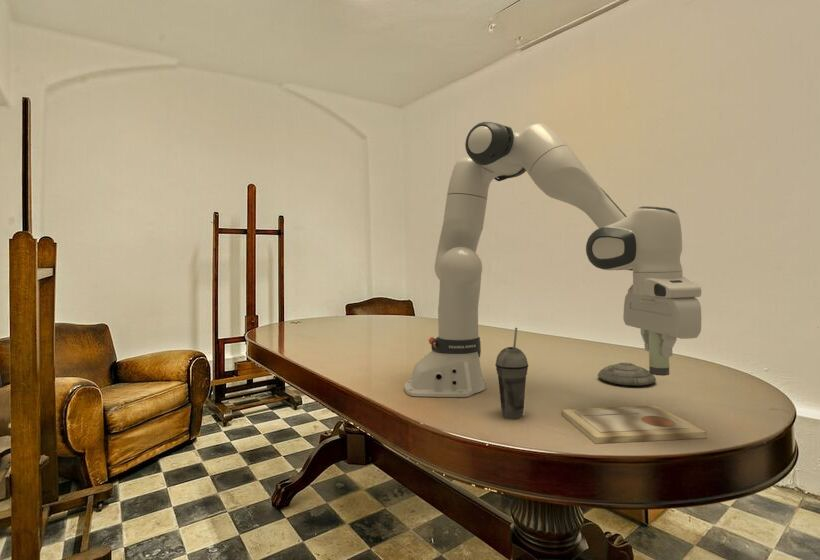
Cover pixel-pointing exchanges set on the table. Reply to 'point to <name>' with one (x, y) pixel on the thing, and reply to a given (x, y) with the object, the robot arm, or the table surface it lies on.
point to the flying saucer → (626, 374)
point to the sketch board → (631, 424)
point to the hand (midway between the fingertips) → (658, 353)
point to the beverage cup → (512, 380)
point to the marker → (657, 356)
